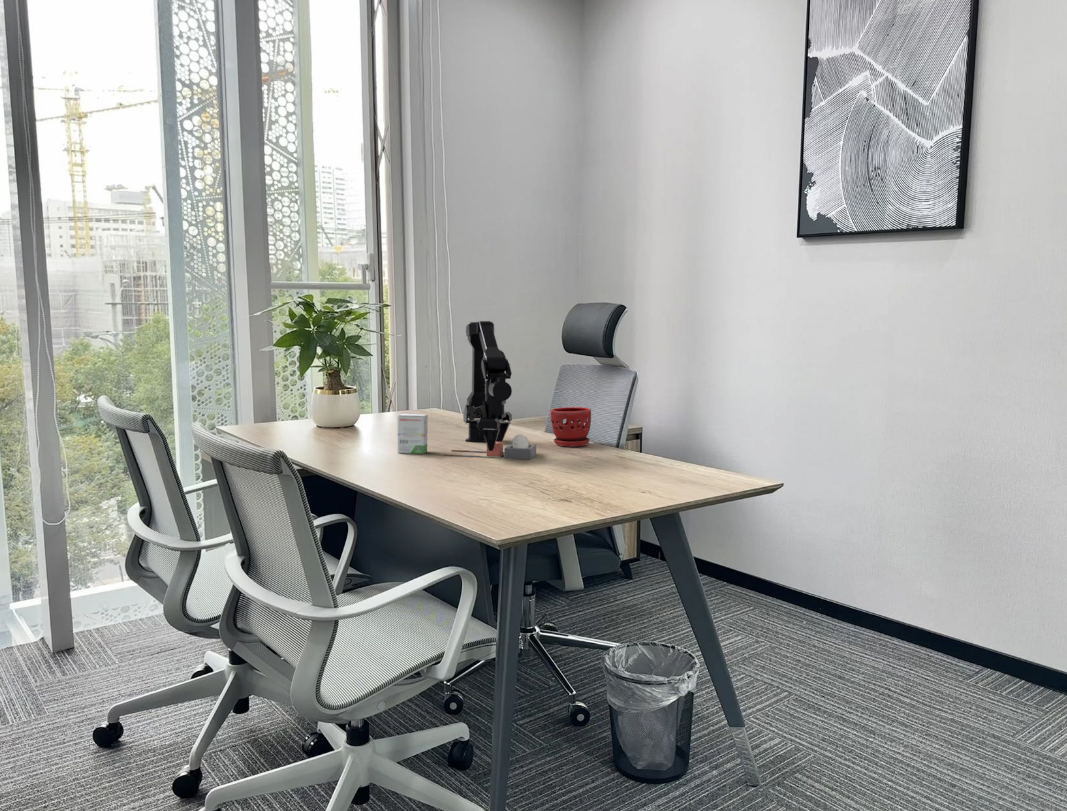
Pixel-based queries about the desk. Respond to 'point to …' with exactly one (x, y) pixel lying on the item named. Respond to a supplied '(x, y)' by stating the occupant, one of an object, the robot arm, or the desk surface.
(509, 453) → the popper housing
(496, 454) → the die
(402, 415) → the ink box
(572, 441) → the plant pot
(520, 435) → the dome
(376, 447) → the desk surface
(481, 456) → the track
